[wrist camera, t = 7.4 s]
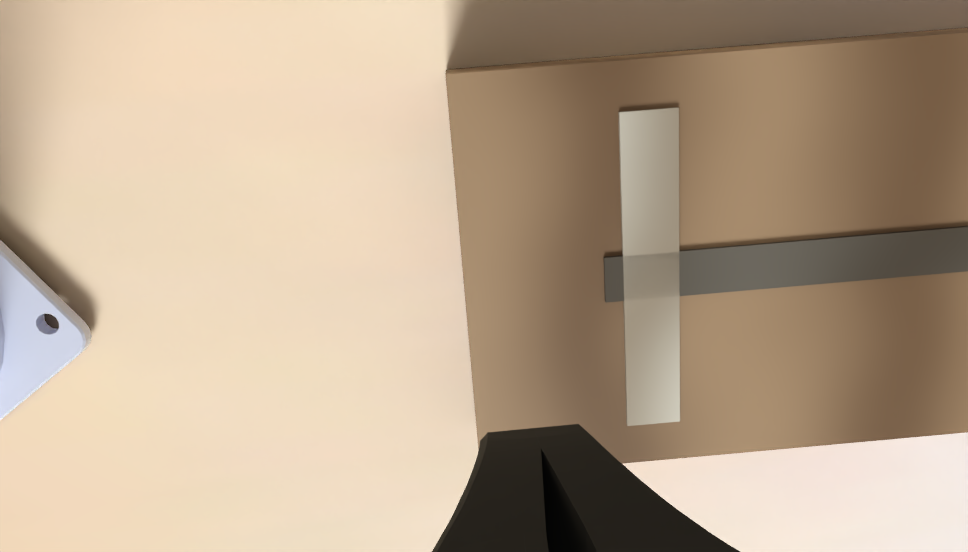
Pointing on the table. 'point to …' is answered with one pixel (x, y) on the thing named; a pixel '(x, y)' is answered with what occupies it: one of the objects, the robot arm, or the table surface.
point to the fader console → (719, 243)
